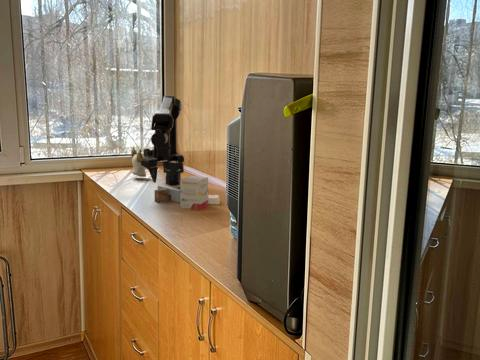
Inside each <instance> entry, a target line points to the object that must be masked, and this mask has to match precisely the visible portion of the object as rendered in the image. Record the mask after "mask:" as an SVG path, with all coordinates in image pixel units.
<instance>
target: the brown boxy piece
mask: <svg viewBox="0 0 480 360" xmlns="http://www.w3.org/2000/svg"><path fill="white" fill-rule="evenodd" d="M171 187H172V188H176V189H180V184H177V185H172V186H171ZM167 201H171V195H169V194H168V189H165V188H163V189H158V188H157V189H154V202H155V203H157V204H160V203H161V202H167Z"/></svg>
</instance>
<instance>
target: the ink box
mask: <svg viewBox="0 0 480 360" xmlns="http://www.w3.org/2000/svg"><path fill="white" fill-rule="evenodd" d="M179 185H180V200H181V202H180V209H181V208H182V209H189V210H197V211H201V210H203V209H205V208H207V207H208V206H209V204H208V195H209V177H205V176H198V175H197V176H196V175H195V176H194V175H188V176H185V177H183V178H181V179H180V184H179Z"/></svg>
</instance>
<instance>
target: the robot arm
mask: <svg viewBox="0 0 480 360" xmlns="http://www.w3.org/2000/svg"><path fill="white" fill-rule="evenodd" d="M182 107H183V106H182V101H181V100H180V99H179V98H176V96H174V95H163V96H162V99H161V106H160V108H159V109H158V110H156V111H154V114H153V115H152V117H151V118H152V119H151V128H150V131H154V133H153V134H152V135H151V137H150V141H151V144H152V145H153V148H152V149H150V148H145V149H143V154H144V157H147V158H144V159H142V160H141V166H144V167H145V168H146V169H147V170H148V172H149V174H150V175H149V176H150V177H151V179H152V182H153V183H155V184H156V183H157V180H158V179H157V177H158V170H159V167H158V164H162V165H163V166H162V169H163V173H164V174H165V185H166V186H178V185H180V179H182V177H181V174H183V173H185V172H184V171H185V169H184V162H185V156H184V154H183V155H182V154H180V153H179V151H178V129H177V128H178V118H179V116H180V115H181V111H182Z"/></svg>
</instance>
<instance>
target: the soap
mask: <svg viewBox="0 0 480 360" xmlns="http://www.w3.org/2000/svg"><path fill="white" fill-rule="evenodd" d="M220 201H221V200H220V195H218V194H208V205H220Z"/></svg>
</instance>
